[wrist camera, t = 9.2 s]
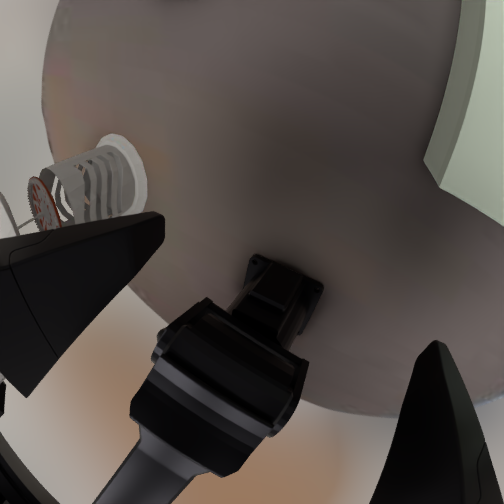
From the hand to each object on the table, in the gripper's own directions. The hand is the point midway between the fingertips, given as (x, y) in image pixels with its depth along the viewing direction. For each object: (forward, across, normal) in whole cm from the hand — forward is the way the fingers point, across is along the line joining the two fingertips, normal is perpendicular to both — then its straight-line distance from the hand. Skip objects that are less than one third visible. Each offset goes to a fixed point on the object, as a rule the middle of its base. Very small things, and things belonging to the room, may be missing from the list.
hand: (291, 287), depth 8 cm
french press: (+12, +22, +8) cm, 26 cm away
